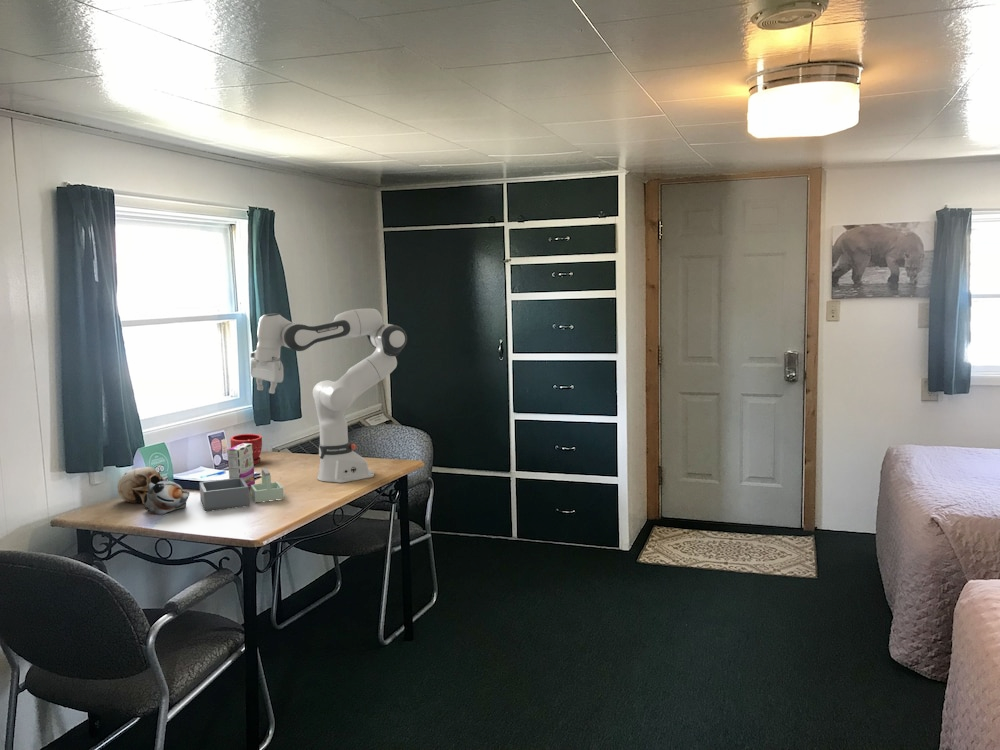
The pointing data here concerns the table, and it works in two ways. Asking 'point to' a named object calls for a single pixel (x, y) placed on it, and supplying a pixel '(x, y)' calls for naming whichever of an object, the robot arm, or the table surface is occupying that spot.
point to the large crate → (224, 494)
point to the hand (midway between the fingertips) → (265, 391)
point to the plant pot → (250, 439)
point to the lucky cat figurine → (165, 497)
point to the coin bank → (137, 483)
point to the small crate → (266, 489)
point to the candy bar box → (241, 463)
